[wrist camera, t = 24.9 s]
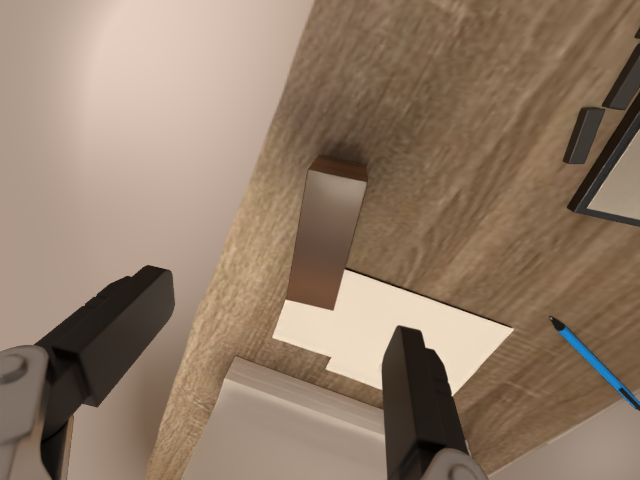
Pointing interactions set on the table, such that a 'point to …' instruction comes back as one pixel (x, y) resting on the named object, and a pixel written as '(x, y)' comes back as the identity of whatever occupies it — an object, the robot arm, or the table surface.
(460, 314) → the paper
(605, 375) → the pen
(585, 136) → the stroke
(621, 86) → the stroke
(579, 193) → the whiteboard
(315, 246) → the eraser
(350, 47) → the table surface
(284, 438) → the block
